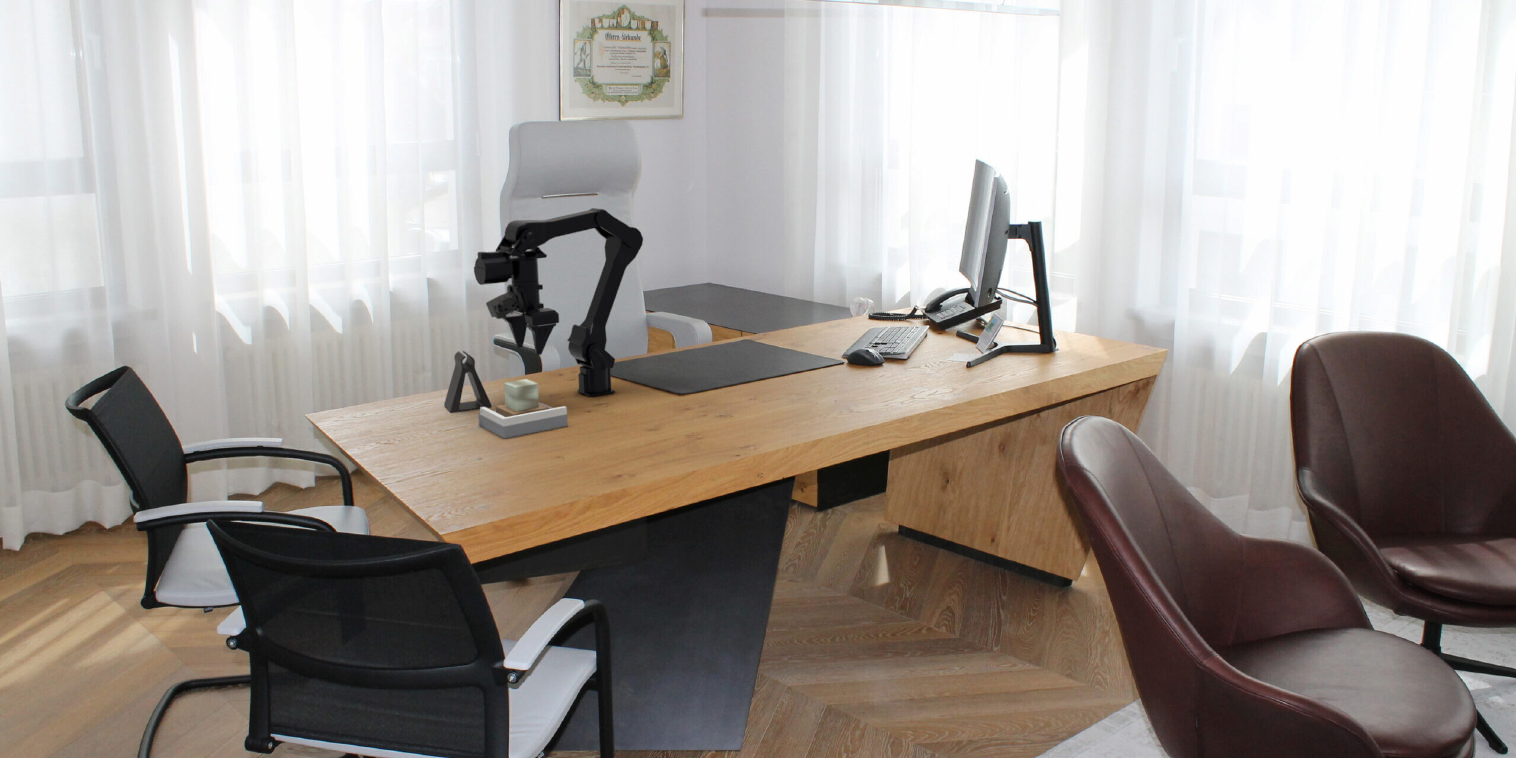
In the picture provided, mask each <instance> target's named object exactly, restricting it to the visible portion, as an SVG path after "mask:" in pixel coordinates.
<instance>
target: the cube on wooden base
mask: <svg viewBox="0 0 1516 758" xmlns="http://www.w3.org/2000/svg"><path fill="white" fill-rule="evenodd" d="M503 386H504V387H503V389H504V390H503V391H504V404H500V405H495V410H496V413H498V414H500V415H502V416H504V417H510V416H515V415H520V414H526V413H531V412H536V411H541V410H547V409H549V407H547V406H544V405H542V404H540V403H539V402H540V401H539V400H540V399H539V387H538V386H539V384H538V383H537V382H535V381H532V380H529V379H527V378H525V379H519V380H518V379H517V380H512V381H507V382H504V383H503Z"/></svg>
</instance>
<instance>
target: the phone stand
mask: <svg viewBox="0 0 1516 758" xmlns="http://www.w3.org/2000/svg"><path fill="white" fill-rule="evenodd" d="M464 354H465V355H464ZM453 359H454V369H453V372H452V375H451V379H450V383H449V386H448V390H447V393H446V396H445V400H444V403H443V404H444V407H445V408H446V410H448V411H449V412H450V413H451V414H454V413H462V412H468V411H477V410H480V407H486V408H488V409H491V408H492V406H493V405H492V403H491V401H490V399H489V396H488V395H487V391H486V390H485V387H484V386H483V384H482V382H481V379H480V377H479V375H478V373H477V372H478V371H477V370H476V365H475V364H476V360H475V359H474V357H472V355H471V354H469V353H468V352H467V351H465V350H462V352H461V351H457V352H456V353H455V354H454V357H453ZM464 359H466V360H465V361H464ZM463 361H464V362H463ZM466 374H467V376H468V380H469V383H470V386H471V387H472V388H471V389H472V391H473V393H474V397H475V400H472V401H465V402H461V399H462V395H463V389H464V385H465V379H466Z"/></svg>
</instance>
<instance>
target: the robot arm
mask: <svg viewBox="0 0 1516 758" xmlns="http://www.w3.org/2000/svg"><path fill="white" fill-rule="evenodd" d="M592 229H593V230H595V231H596V232H597V233H598V234H599V235H600V236H601V237H603V239H605V244H604V257H605V262H604V265H603V268H602V271H601V274H600V277H599V279H598V281H597V282H598V283H597V284H596V288H595V291H594V293H593V297H592V299H591V302H590V304H589V308H588V311H587V314H586V317H585V319H584V320H583V321H582V322H581V324H580V325H578V324H573V326H572V328H571V332H570V335H569V338H567V340H566V341H567V342H569V343H568V351H569V353H570V355H571V356H572V358H573V359H575V363H576V364H577V365H580V366H579V373H578V375H577V377H578V378H577V379H578V389H577V392H578V393H580V394H583V395H586V396H588V397H597V396H602V395H608V394H614V393H615V392H616V390H615V389H613V388H612V375H611V374H612V372H611V369H612V368H614V365H615V362H616V359H615V357H614V356H612V355H611V354H610V353H609V352H608V351H607V350H606V346H607V342H608V341H607V339H608V338H607V331H606V329H607V324H608V321H609V317H610V314H611V311H612V309H613V306H614V303H615V301H616V297H617V295H618V291H619V290H620V286H621V283H622V280H623V277H624V275H625V272H626V269H627V267H628V266H629V265H630V264H631V263H632V262H633V261H634V260H635V259H636V257H637V255H638V254H639V252H640V251H641V248H642V246H643V243H644V236H643V235H642V233H641V231H640V230H639V229H638V228H637V227H635V226H634V227H633V226H629V225H628V224H627V223H624V222H623V221H622V220H620V219H618V218H616V217H615V216H613V215H612V214H610V213H609V212H608V211H607V210H605V209H604V208H596V207H595V208H590V209H588V210H584V211H578V212H575V213H572V214H571V213H570V214H565V215H560V216H557V217H552V218H549V219H539V220H538V219H537V220H536V219H535V220H534V219H533V220H532V219H524V220H522V219H520V220H519V219H518V220H512V221H510V222H508V224H507V226H506V227H505V231H504V236H503V237H502V239H501V240H500V242H499V244H498V245H497V247H496V249H495V251H478V252H477V258H476V259H475V262H474V267H473V274H474V277H475V280H476V282H477V283H478V284H479V285H481V286H483V285H492V284H502V283H508V282H509V280H510V279H511V284H508V286H507V287H506V289H507V292H505V293H502V294H500V295H498V296H496V297H494V298H492V299H490V300H489V301H486V303H485V305H486V307H487V309H488V311H489V314H490V317H492V318H496V319H497V320H499V319H500V320H501V319H502V320H504V322H506V323H507V324H508V326H509V329H510V331H511V334H512V337H513V340H514V342H515V344H516V348H518V349H520V348H523V346H524V343H525V339H526V338H525V337H526V333H527V329H528V330H530V331H531V334H532V341H533V346H534V347H533V348H534V351H535V355H537V356H540V355H542V354H543V352H544V349H545V347H546V345H547V342H548V340H549V337H550V336H551V333H552V331H553V330H554V327H556V326H557V324H559V323H560V313H558V312H557V311H556V310H555V309H552V308H548V307H545V304H544V303H543V302H540V301H541V300H540V299H541V296H540V291H541V290H543V289H544V288H543V285H544V284H541V283H540V281H539V280H540V279H539V263H538V262H539V261H538V260H539V259H545V258H547V256H548V255H547V254H546V253H545V252H544V251H543V250H542V249H541V248H540V246H542V245H545V244H547V242H549V241H551V240H552V239H555V238H558V237H563V236H567V235H572V234H576V233H580V232H584V231H588V230H589V231H590V230H592Z"/></svg>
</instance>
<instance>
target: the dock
mask: <svg viewBox="0 0 1516 758" xmlns="http://www.w3.org/2000/svg"><path fill="white" fill-rule="evenodd" d="M539 403H540V404H542V405H544V406H547V407H549V409H547V410H541V411H536V412H531V413H526V414H520V415H515V416H510V417H504V416H502V415H500V414H498V413H496V409H495V410H491V408H486V407H480V409H479V413H478V415H477V416H478V425H479V426H480V427H482V428H484V429H485V430H488V431H490V432H491V433H493V434H494V435H496V436H499V437H501V438H503V439H508V438H516V437H520V436H525V435H529V434H535V433H539V432H545V431H549V430H554V429H559V428H564V427H568V424H569V422H568V407H567V406H566V405H563V406H557V407H552V406H549V405H547V404H545V403H543V402H540V401H539Z"/></svg>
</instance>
